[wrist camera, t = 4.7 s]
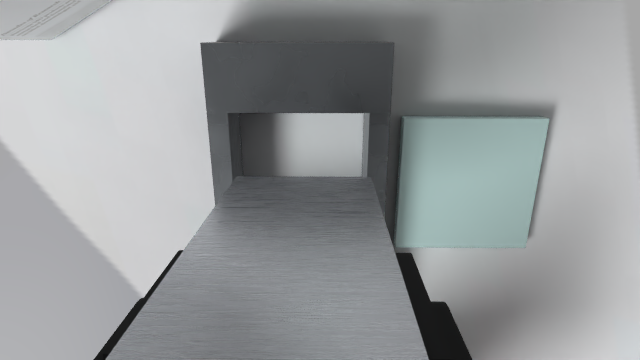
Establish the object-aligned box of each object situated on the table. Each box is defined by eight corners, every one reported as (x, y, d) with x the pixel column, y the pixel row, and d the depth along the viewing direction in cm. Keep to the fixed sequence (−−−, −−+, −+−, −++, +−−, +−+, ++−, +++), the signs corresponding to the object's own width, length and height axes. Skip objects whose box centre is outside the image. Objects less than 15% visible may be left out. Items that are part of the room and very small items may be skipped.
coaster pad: (520, 242, 23) (525, 247, 22) (393, 242, 23) (395, 247, 22) (543, 116, 20) (549, 118, 20) (402, 116, 20) (404, 118, 20)
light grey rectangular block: (366, 293, 15) (412, 603, 7) (244, 292, 15) (139, 595, 7) (371, 177, 14) (436, 384, 5) (237, 175, 14) (92, 377, 6)
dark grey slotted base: (371, 324, 24) (376, 356, 22) (237, 323, 25) (228, 355, 22) (385, 42, 19) (394, 42, 17) (215, 41, 19) (199, 42, 17)
